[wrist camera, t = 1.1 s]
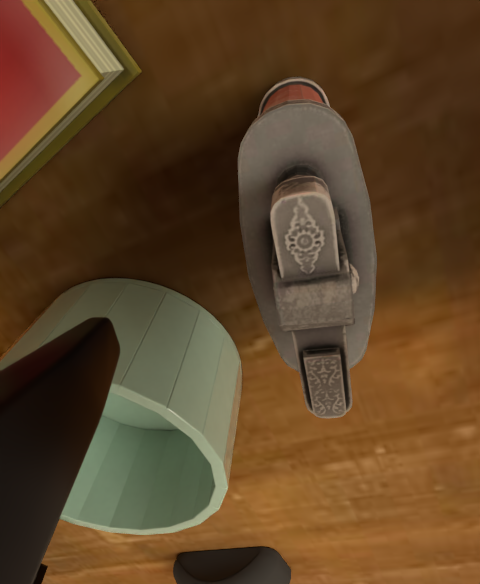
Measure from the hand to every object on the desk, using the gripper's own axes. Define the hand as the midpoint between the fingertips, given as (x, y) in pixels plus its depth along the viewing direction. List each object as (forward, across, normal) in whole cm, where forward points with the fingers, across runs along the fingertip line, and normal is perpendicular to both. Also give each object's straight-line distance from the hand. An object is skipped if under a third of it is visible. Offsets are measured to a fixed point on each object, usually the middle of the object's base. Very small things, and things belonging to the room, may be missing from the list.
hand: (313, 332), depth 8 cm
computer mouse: (+10, +7, +39) cm, 41 cm away
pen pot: (+10, +10, +11) cm, 18 cm away
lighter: (+10, 0, 0) cm, 10 cm away
